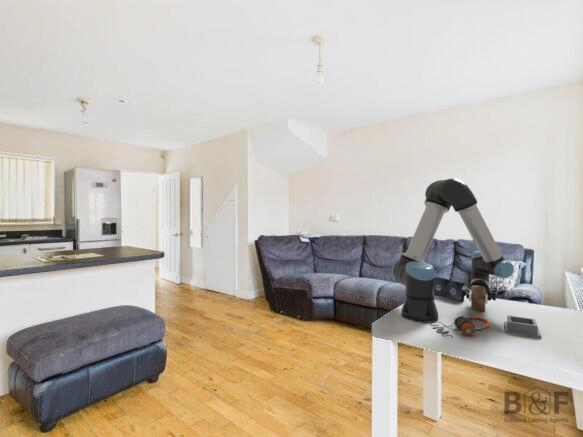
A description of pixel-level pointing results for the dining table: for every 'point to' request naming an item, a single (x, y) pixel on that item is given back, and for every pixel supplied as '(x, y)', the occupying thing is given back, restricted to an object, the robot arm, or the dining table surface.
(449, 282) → the vhs cassette tape
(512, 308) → the dining table surface
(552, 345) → the dining table surface
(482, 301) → the walnut cylinder
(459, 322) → the headphones
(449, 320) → the dining table surface
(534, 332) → the grey square tray
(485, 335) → the dining table surface
